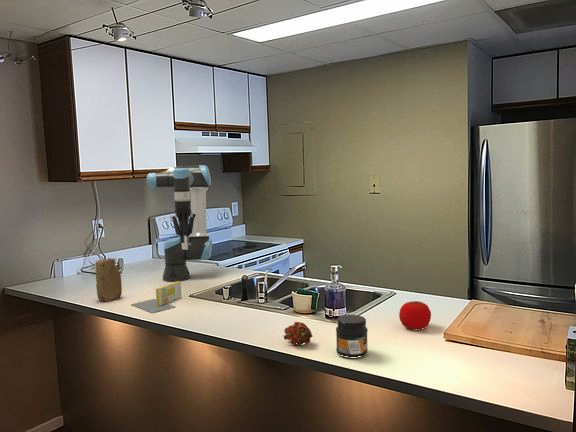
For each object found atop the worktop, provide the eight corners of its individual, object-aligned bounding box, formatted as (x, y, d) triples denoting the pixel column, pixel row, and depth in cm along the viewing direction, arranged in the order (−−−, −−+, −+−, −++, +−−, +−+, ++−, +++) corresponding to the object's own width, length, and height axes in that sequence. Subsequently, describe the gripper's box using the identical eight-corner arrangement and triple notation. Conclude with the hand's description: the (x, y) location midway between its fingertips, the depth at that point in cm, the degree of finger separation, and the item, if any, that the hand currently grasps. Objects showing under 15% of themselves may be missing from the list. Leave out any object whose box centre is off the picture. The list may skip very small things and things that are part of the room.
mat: (154, 299, 238) (154, 298, 238) (175, 307, 224) (175, 306, 224) (130, 304, 230) (130, 304, 230) (152, 313, 216) (151, 312, 216)
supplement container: (356, 362, 158) (355, 326, 156) (330, 354, 165) (329, 319, 163) (373, 352, 165) (373, 317, 164) (348, 345, 172) (347, 312, 171)
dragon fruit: (310, 353, 170) (286, 349, 179) (321, 333, 175) (297, 331, 184) (298, 337, 167) (274, 334, 175) (309, 318, 171) (285, 316, 180)
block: (101, 303, 234) (98, 262, 232) (96, 300, 240) (93, 259, 238) (123, 298, 241) (121, 258, 239) (118, 295, 247) (115, 256, 245)
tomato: (412, 335, 181) (412, 307, 180) (393, 325, 191) (393, 299, 190) (437, 330, 185) (438, 303, 184) (418, 321, 196) (418, 295, 195)
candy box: (178, 297, 241) (178, 280, 240) (182, 297, 240) (181, 281, 239) (156, 305, 226) (155, 287, 225) (159, 306, 225) (159, 288, 224)
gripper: (174, 201, 227) (177, 251, 230) (198, 199, 236) (200, 248, 239) (166, 201, 233) (168, 250, 235) (189, 199, 242) (192, 246, 244)
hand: (184, 249), depth 237 cm, fingers closed
